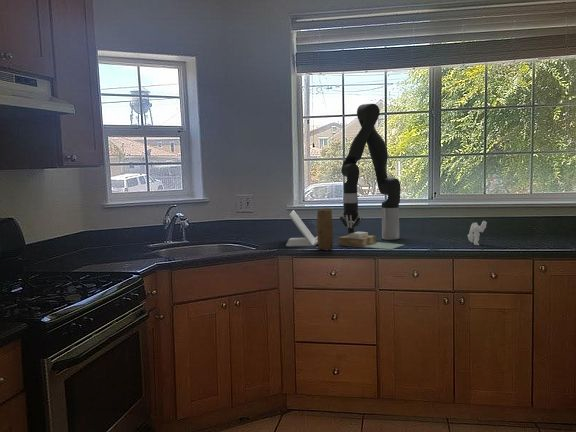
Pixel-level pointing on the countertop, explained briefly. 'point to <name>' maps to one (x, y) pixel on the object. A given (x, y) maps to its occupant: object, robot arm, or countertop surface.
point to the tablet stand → (308, 239)
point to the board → (356, 241)
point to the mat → (384, 245)
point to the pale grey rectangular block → (358, 234)
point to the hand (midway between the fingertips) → (351, 234)
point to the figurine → (476, 232)
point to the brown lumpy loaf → (324, 229)
